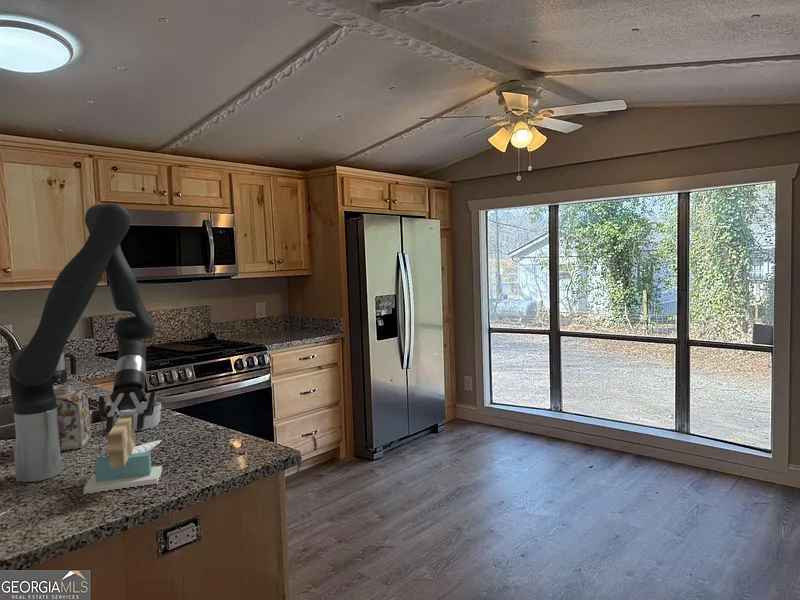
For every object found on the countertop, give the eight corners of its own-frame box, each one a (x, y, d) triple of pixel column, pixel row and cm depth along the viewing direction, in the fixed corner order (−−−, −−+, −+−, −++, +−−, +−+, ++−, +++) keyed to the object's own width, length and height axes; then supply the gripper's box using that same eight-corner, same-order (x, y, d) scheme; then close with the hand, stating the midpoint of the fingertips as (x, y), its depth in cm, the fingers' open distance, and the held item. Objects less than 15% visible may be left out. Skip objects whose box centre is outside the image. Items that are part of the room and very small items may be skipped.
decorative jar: (91, 437, 177) (87, 381, 176) (83, 448, 166) (79, 388, 165) (48, 442, 173) (44, 384, 172) (37, 454, 162) (32, 392, 161)
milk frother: (53, 385, 259) (50, 354, 258) (30, 384, 265) (27, 352, 264) (81, 379, 272) (78, 349, 271) (58, 377, 278) (56, 348, 277)
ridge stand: (84, 494, 132) (82, 467, 132) (93, 480, 141) (91, 454, 140) (157, 484, 137) (155, 458, 136) (161, 471, 145) (160, 446, 145)
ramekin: (113, 427, 188) (112, 406, 187) (154, 418, 197) (153, 399, 196) (126, 435, 178) (124, 413, 178) (168, 426, 187) (167, 405, 186)
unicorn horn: (173, 442, 170) (172, 427, 170) (123, 472, 147) (122, 454, 146) (158, 442, 171) (157, 426, 171) (106, 471, 147) (105, 454, 147)
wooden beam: (124, 467, 131) (121, 433, 131) (109, 468, 131) (107, 435, 130) (135, 444, 147) (133, 414, 146) (122, 445, 146) (120, 415, 145)
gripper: (97, 370, 148) (89, 426, 137) (156, 365, 152) (153, 420, 141) (103, 385, 153) (96, 441, 143) (160, 381, 157) (157, 434, 147)
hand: (124, 430), depth 142 cm, fingers open, 6 cm apart
